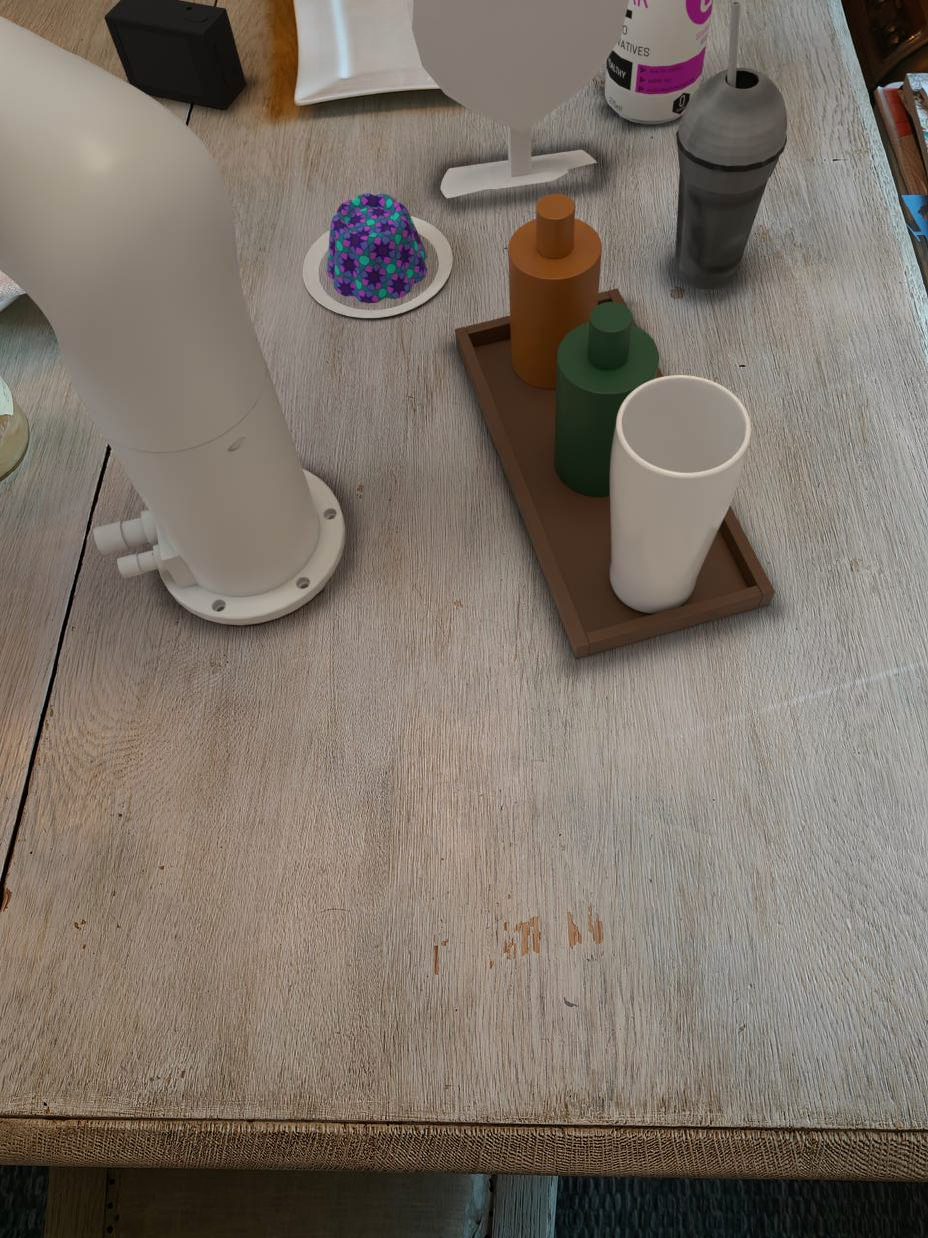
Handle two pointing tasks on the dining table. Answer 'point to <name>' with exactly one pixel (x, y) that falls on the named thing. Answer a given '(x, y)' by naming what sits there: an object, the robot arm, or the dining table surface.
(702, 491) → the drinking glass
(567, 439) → the green bottle
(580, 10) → the heart sculpture
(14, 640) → the dining table surface
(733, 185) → the beverage cup
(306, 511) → the robot arm
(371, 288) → the pudding
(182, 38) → the digital camera
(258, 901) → the dining table surface
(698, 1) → the supplement can
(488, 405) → the tray
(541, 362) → the amber bottle
